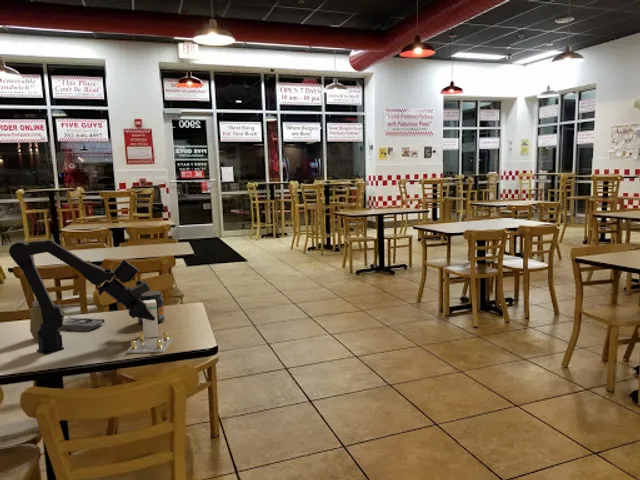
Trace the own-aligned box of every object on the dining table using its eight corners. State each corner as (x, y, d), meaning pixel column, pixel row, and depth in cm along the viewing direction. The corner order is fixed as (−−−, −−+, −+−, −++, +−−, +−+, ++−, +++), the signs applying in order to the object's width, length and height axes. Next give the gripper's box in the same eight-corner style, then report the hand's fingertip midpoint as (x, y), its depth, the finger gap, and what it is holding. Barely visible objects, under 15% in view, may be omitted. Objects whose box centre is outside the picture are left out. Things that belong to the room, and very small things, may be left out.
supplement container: (169, 318, 209) (167, 290, 208) (157, 326, 199) (155, 296, 197) (145, 318, 211) (143, 290, 209) (133, 325, 201) (130, 296, 199)
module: (144, 338, 183) (141, 303, 182) (143, 334, 188) (140, 301, 187) (158, 336, 185) (156, 302, 184) (157, 332, 190) (155, 299, 189)
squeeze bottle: (28, 343, 182) (23, 294, 180) (34, 336, 190) (29, 290, 188) (52, 340, 185) (47, 292, 182) (57, 333, 192) (53, 288, 190)
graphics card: (49, 324, 194) (69, 315, 206) (50, 334, 195) (70, 324, 206) (88, 326, 191) (106, 316, 203) (89, 335, 192) (107, 325, 204)
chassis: (127, 353, 169) (126, 343, 168) (138, 341, 181) (138, 332, 180) (163, 352, 169) (162, 342, 168) (172, 340, 181) (171, 331, 180)
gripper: (136, 279, 174) (171, 306, 180) (133, 270, 191) (165, 295, 196) (114, 304, 172) (150, 331, 177) (113, 293, 189) (145, 317, 194)
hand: (153, 317), depth 186 cm, fingers closed on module, 5 cm apart
